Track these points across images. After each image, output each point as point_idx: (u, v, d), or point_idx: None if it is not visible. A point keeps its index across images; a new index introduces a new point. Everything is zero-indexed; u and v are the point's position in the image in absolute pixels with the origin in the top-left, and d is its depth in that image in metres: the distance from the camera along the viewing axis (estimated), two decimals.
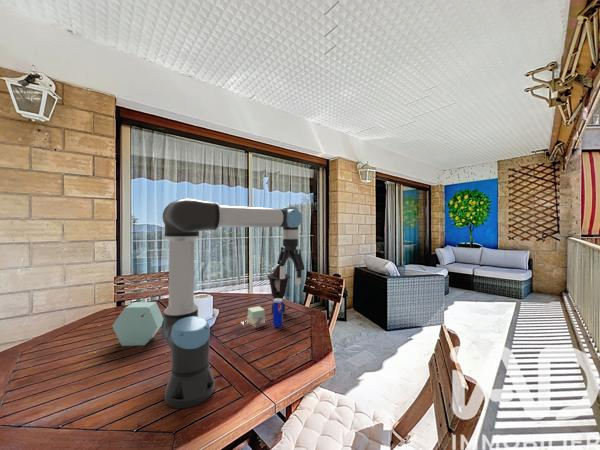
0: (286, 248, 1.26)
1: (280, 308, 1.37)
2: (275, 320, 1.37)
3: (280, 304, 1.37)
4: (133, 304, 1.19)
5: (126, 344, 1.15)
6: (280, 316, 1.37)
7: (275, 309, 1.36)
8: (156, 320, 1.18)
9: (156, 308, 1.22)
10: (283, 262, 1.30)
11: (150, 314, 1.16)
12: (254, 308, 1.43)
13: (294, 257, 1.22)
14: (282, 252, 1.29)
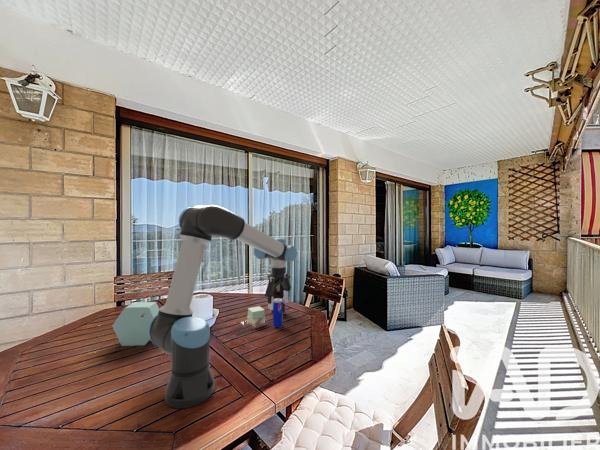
0: None
1: (280, 308, 1.37)
2: (275, 320, 1.37)
3: (280, 304, 1.37)
4: (133, 304, 1.19)
5: (126, 344, 1.15)
6: (280, 316, 1.37)
7: (275, 309, 1.36)
8: None
9: (156, 308, 1.22)
10: (284, 287, 1.44)
11: (150, 314, 1.16)
12: (254, 308, 1.43)
13: (273, 284, 1.35)
14: (284, 278, 1.44)
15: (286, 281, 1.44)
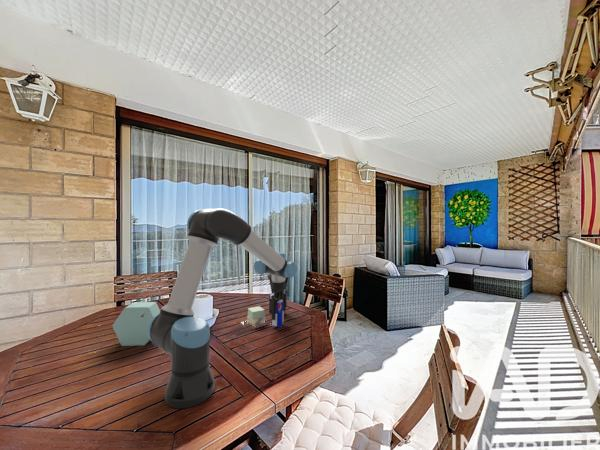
0: None
1: (280, 308, 1.37)
2: None
3: (280, 304, 1.37)
4: (133, 304, 1.19)
5: (126, 344, 1.15)
6: (280, 316, 1.37)
7: None
8: None
9: (156, 308, 1.22)
10: None
11: (150, 314, 1.16)
12: (254, 308, 1.43)
13: (274, 300, 1.36)
14: (282, 294, 1.43)
15: (284, 298, 1.43)
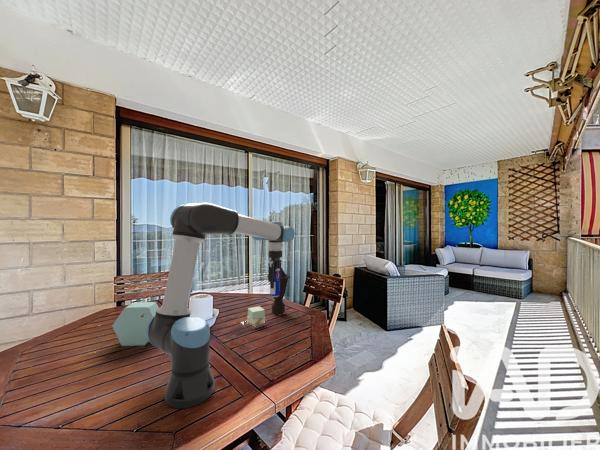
0: None
1: (278, 276, 1.37)
2: None
3: (278, 272, 1.37)
4: (133, 304, 1.19)
5: (126, 344, 1.15)
6: (278, 284, 1.37)
7: None
8: None
9: (156, 308, 1.22)
10: None
11: (150, 314, 1.16)
12: (254, 308, 1.43)
13: None
14: None
15: None
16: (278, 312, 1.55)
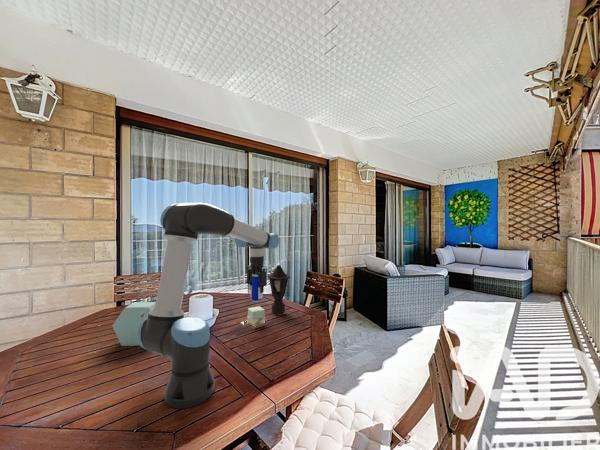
0: (252, 263, 1.42)
1: None
2: None
3: None
4: (133, 304, 1.19)
5: (126, 344, 1.15)
6: None
7: None
8: None
9: None
10: None
11: None
12: (254, 308, 1.43)
13: (260, 274, 1.40)
14: (249, 270, 1.44)
15: (250, 273, 1.45)
16: (278, 312, 1.55)
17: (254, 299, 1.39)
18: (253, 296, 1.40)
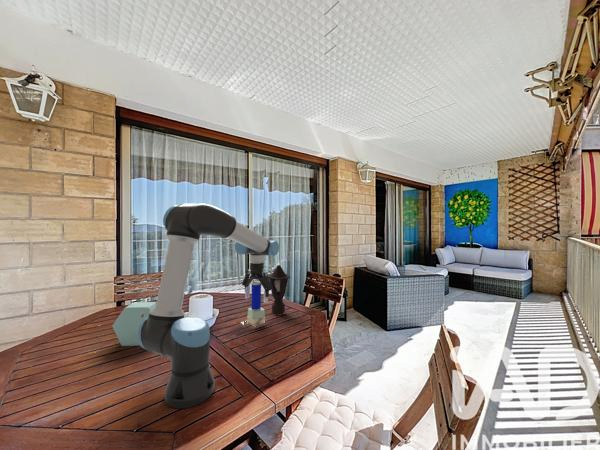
0: (253, 271, 1.42)
1: None
2: (259, 302, 1.41)
3: None
4: (133, 304, 1.19)
5: (126, 344, 1.15)
6: None
7: (260, 291, 1.40)
8: None
9: None
10: (248, 283, 1.45)
11: None
12: None
13: (261, 279, 1.39)
14: (247, 274, 1.44)
15: (247, 277, 1.46)
16: (278, 312, 1.55)
17: (254, 308, 1.39)
18: (253, 305, 1.40)
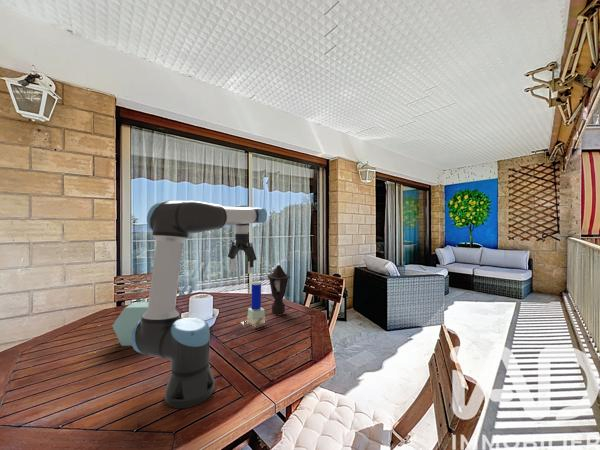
0: (238, 242, 1.41)
1: None
2: (259, 302, 1.41)
3: None
4: (133, 304, 1.19)
5: (126, 344, 1.15)
6: None
7: (260, 291, 1.40)
8: None
9: None
10: (234, 255, 1.44)
11: None
12: None
13: (246, 249, 1.38)
14: (233, 246, 1.44)
15: (233, 249, 1.45)
16: (278, 312, 1.55)
17: (254, 308, 1.39)
18: (253, 305, 1.40)
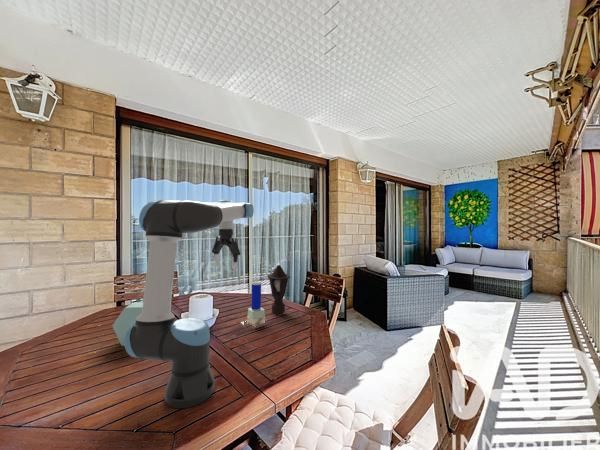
0: (222, 237, 1.41)
1: None
2: (259, 302, 1.41)
3: None
4: (133, 304, 1.19)
5: None
6: None
7: (260, 291, 1.40)
8: None
9: None
10: (218, 250, 1.44)
11: None
12: None
13: (230, 245, 1.38)
14: (217, 241, 1.43)
15: (217, 244, 1.45)
16: (278, 312, 1.55)
17: (254, 308, 1.39)
18: (253, 305, 1.40)
